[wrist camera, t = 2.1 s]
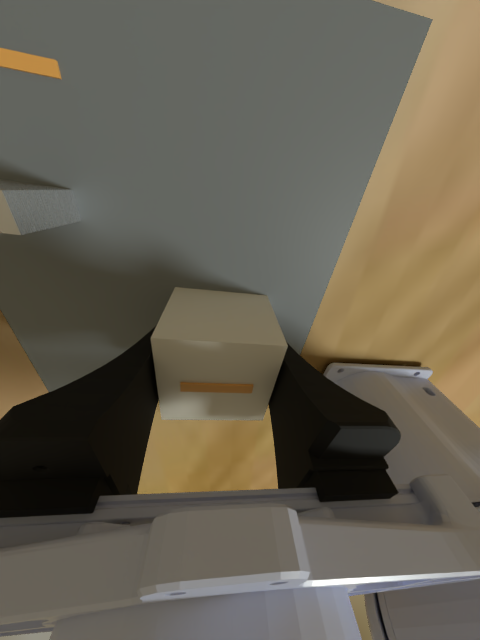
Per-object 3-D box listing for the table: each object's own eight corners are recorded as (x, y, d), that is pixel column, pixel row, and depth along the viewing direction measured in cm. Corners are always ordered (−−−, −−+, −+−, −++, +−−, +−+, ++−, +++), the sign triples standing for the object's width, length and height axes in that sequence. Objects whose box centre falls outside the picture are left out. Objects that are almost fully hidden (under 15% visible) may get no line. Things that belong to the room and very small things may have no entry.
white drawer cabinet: (267, 295, 12) (288, 347, 8) (252, 360, 15) (262, 422, 11) (175, 287, 11) (149, 339, 7) (178, 356, 14) (160, 421, 10)
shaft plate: (408, 38, 7) (574, -96, 4) (279, 389, 18) (293, 437, 15) (-219, -145, 5) (-1203, -886, 2) (59, 383, 16) (12, 438, 12)
